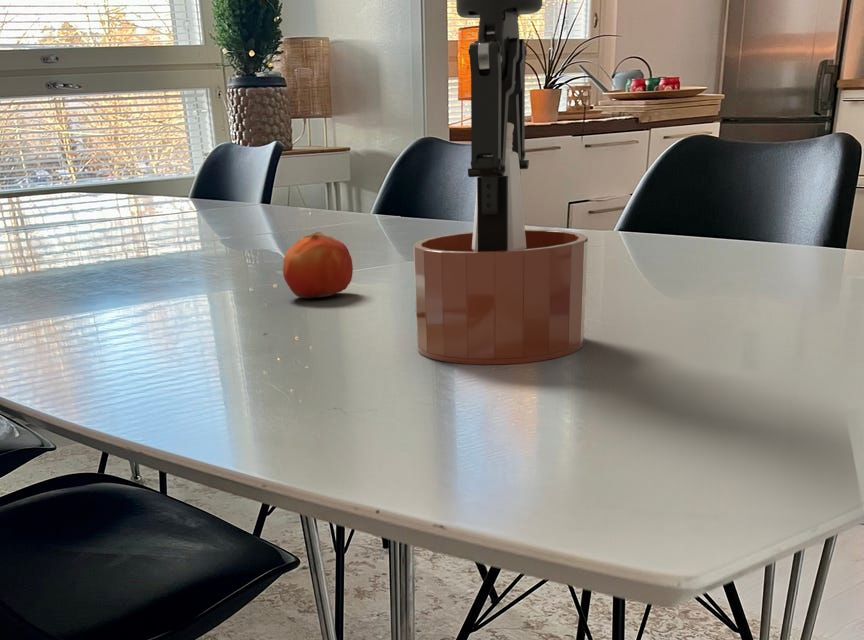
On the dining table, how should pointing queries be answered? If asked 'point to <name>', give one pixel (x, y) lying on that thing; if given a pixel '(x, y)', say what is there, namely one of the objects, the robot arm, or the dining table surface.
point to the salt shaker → (509, 200)
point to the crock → (500, 298)
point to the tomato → (317, 266)
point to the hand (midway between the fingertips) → (499, 246)
